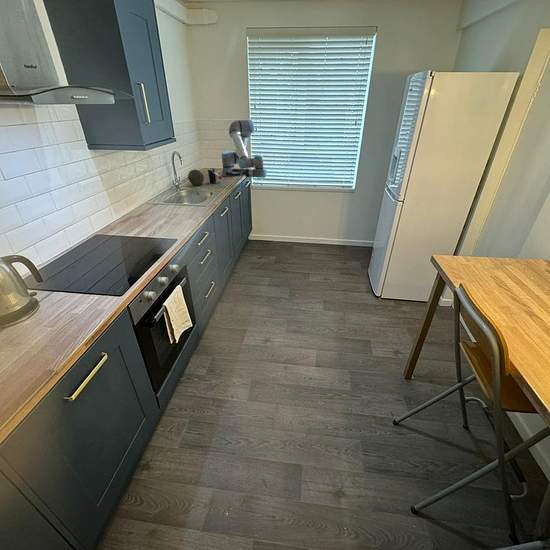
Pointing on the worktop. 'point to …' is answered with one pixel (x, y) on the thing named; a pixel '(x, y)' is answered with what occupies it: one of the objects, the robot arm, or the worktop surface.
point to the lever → (217, 175)
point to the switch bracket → (212, 177)
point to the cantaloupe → (195, 177)
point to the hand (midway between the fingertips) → (229, 172)
